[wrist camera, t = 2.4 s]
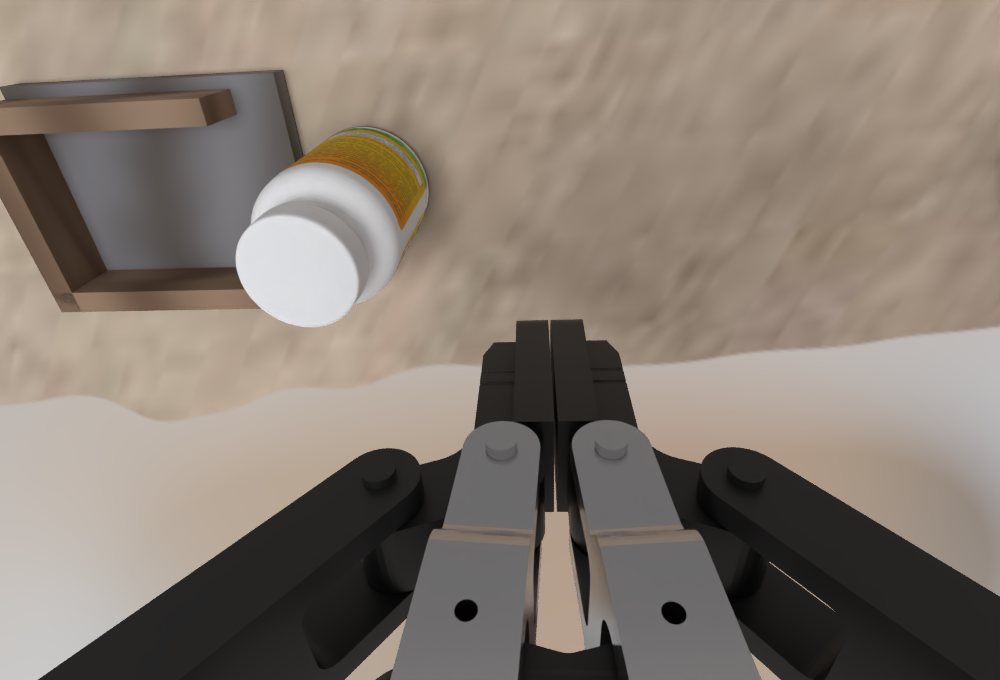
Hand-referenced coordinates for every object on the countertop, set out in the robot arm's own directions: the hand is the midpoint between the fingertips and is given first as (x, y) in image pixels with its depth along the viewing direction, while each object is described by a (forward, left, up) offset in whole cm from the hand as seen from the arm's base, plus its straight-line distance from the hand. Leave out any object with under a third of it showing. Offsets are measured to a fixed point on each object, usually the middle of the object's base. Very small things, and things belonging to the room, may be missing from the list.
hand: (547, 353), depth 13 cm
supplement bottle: (+8, 0, -15) cm, 17 cm away
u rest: (+17, 0, -15) cm, 22 cm away
